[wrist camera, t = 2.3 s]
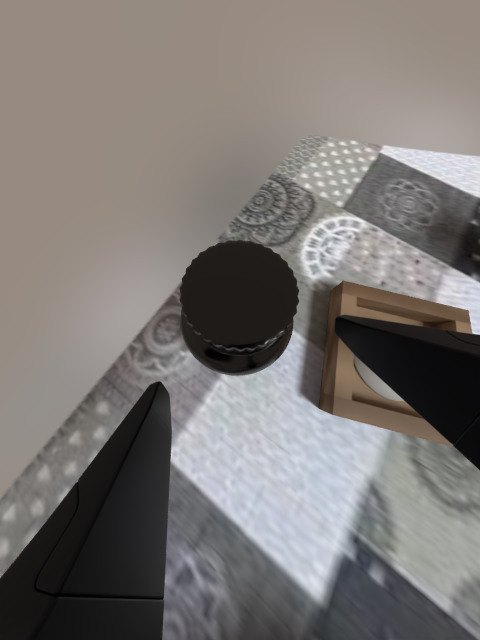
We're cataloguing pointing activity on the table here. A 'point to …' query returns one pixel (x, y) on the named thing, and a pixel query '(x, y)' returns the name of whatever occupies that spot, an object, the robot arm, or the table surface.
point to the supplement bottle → (238, 307)
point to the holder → (357, 379)
